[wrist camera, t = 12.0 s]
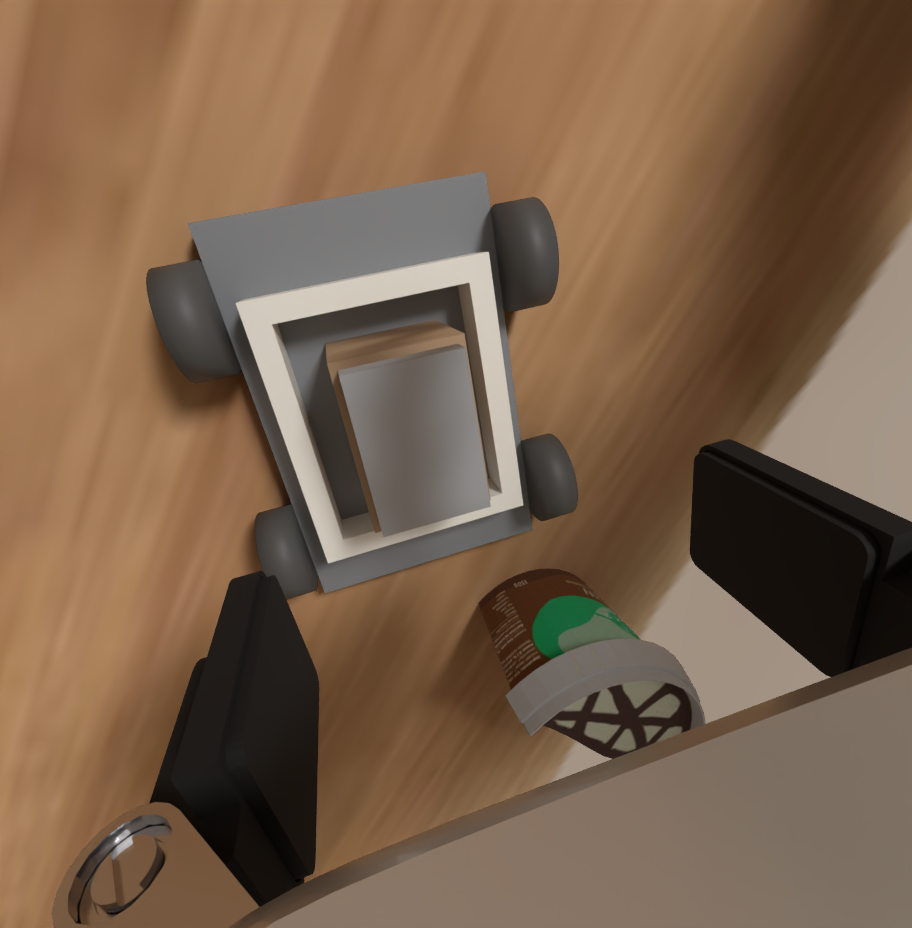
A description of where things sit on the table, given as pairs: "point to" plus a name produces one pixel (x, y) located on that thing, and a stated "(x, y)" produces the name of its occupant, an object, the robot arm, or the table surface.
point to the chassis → (354, 314)
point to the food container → (585, 666)
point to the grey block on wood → (411, 424)
